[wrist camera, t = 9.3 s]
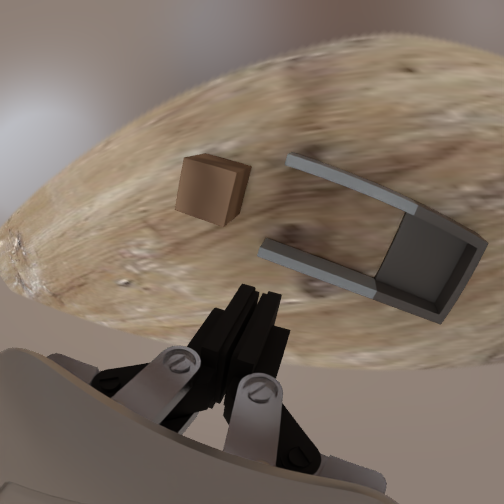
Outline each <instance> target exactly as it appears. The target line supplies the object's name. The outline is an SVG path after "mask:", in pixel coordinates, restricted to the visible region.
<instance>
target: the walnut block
mask: <svg viewBox="0 0 504 504" xmlns="http://www.w3.org/2000/svg"><path fill="white" fill-rule="evenodd" d="M251 168H252V166H248V165H245V164H242V163H238V162H235V161H231V160H228V159H224V158H221V157H217V156H213V155H210V154H206V153H205V154H200V155H195V156H190V157H185V158H184V160H183V165H182V171H181V176H180V182H179V187H178V193H177V199H176V206H175V210H177V211H179V212H182V213H185V214H188V215H191V216H194V217H196V218H199V219H202V220H205V221H208V222H210V223H213V224H216V225H219V226H221V227H224V226H225V225H227V224H228V223H229V222H230V221H231V220H232V219H234V218H235V217H236V216H237V215H238V214H239V213H240V210H241V206H242V202H243V198H244V194H245V190H246V186H247V183H248V179H249V175H250V171H251Z"/></svg>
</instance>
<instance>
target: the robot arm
mask: <svg viewBox="0 0 504 504" xmlns="http://www.w3.org/2000/svg"><path fill="white" fill-rule="evenodd" d="M281 296H282V295H281V294H277V293H274V292H270V291H269V292H268V294H264V293H263V294H262V296H261V298H260V300H259V302H258V297H259V292H257V291H255V287H253V286H249V285H246V284H242V285H241V286H240V288H239V289H238V291H237V292H236V294H235V295H234V297H233V299H232V300H231V302H230V303H229V305H228V306H227V308H226V309H225V310H222V309H219V308H214V309H213V310H212V312H211V313H210V314H209V316H208V317H207V319H206V320H205V322H204V323H203V324H202V326H201V327H200V329H199V330H198V331H197V333H196V334H195V336H194V337H193V338H192V340H191V341H190V343H189V344H188V346H187V347H186V346H172V347H169V348H167V349H165V350H164V351H163V352H161V353H160V354H159V355H158V356H157V357H156V358H155V359H154V360H153V361H152V362H150V363H146V364H140V365H134V366H127V367H121V368H114V369H108V370H104V371H99V369H98V368H97V367H94V366H92V365H89V364H86V363H83V362H80V361H78V360H75V359H72V358H70V357H67V356H65V355H62V354H57V353H56V354H51V355H49V356H47V357H45V356H43V355H41V354H39V353H36V352H33V351H30V350H27V349H22V348H8V349H6V350H4V351H2V352H0V504H398V503H397V502H396V501H395V500H393V499H392V498H390V497H389V496H387V495H385V491H386V485H387V483H386V480H385V478H384V477H383V475H382V474H381V473H379V472H377V471H374V470H371V469H368V468H365V467H362V466H359V465H356V464H353V463H351V462H347V461H345V460H342V459H340V458H337V457H334V456H331V455H330V456H329V457H328V456H325V455H323V454H320V452H319V451H318V449H317V448H316V446H315V445H314V444H313V442H312V441H311V440H310V439H309V438H308V436H307V435H306V434H305V432H304V431H303V430H302V428H301V427H300V426H299V425H298V423H297V422H296V421H295V419H294V418H293V417H292V415H291V414H290V413H289V411H288V410H287V409H286V407H285V406H284V405H283V403H282V399H283V390H282V386H281V384H280V383H279V382H278V381H277V380H276V376H277V373H278V370H279V367H280V364H281V360H282V357H283V354H284V350H285V347H286V344H287V340H288V337H289V333H290V330H288V329H284V328H281V327H277V326H274V324H275V320H276V316H277V312H278V308H279V304H280V300H281ZM257 302H258V304H257ZM224 395H225V399H224V405H225V408H224V414H223V416H224V418H225V419H226V421H227V423H228V424H229V428H228V432H227V436H226V440H225V445H224V449H223V451H221V450H218V449H215V448H212V447H210V446H207V445H205V444H202V443H200V442H197V441H195V440H192V439H190V438H187V437H185V436H183V435H182V434H183V433H184V432H185V431H186V429H187V428H188V427H189V426H190V424H191V423H192V422H193V421H194V419H195V418H196V417H197V415H198V413H199V411H203V410H207V409H208V407H209V408H211V409H212V408H213V406H214V404H215V402H216V403H219V404H220V403H221V401H222V399H223V397H224Z"/></svg>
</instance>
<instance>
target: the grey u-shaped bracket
mask: <svg viewBox="0 0 504 504" xmlns="http://www.w3.org/2000/svg"><path fill="white" fill-rule="evenodd" d="M285 165H286V166H289V167H293V168H296V169H298V170H301V171H304V172H307V173H310V174H313V175H316V176H319V177H321V178H324V179H327V180H330V181H332V182H335V183H338V184H340V185H343V186H345V187H348V188H351V189H353V190H356V191H358V192H361V193H363V194H366V195H368V196H370V197H373V198H375V199H378V200H380V201H382V202H385V203H387V204H389V205H392V206H394V207H396V208H398V209H401V210H403V211H405V212H406V213H405V215H404V217H403V220H402V222H401V224H400V226H399V229H398V231H397V233H396V235H395V238H394V240H393V242H392V244H391V246H390V248H389V250H388V252H387V254H386V257H385V259H384V261H383V263H382V265H381V267H380V269H379V271H378V273H377V274H376V276H375V278H372V277H369V276H367V275H364V274H362V273H359V272H356V271H354V270H351V269H349V268H346V267H343V266H341V265H338V264H335V263H333V262H330V261H327V260H325V259H322V258H319V257H317V256H314V255H311V254H309V253H306V252H303V251H301V250H298V249H295V248H293V247H290V246H287V245H285V244H282V243H279V242H276V241H274V240H271V239H268V238H266V239H265V240H264V242H263V243H262V245H261V246H260V248H259V251H258V255H257V256H258V257H261V258H263V259H266V260H269V261H271V262H274V263H277V264H279V265H282V266H285V267H287V268H290V269H293V270H295V271H298V272H301V273H303V274H306V275H309V276H312V277H314V278H317V279H320V280H322V281H325V282H328V283H330V284H333V285H336V286H338V287H341V288H344V289H346V290H349V291H352V292H354V293H357V294H360V295H363V296H365V297H368V298H371V299H373V300H376V301H379V302H381V303H384V304H387V305H389V306H392V307H395V308H398V309H400V310H403V311H406V312H408V313H411V314H414V315H416V316H419V317H422V318H425V319H427V320H430V321H433V322H435V323H438V324H442V322H443V321H444V319H445V318H446V316H447V315H448V313H449V312H450V310H451V309H452V307H453V306H454V304H455V303H456V301H457V299H458V298H459V296H460V295H461V293H462V291H463V290H464V288H465V286H466V284H467V283H468V281H469V279H470V278H471V276H472V274H473V272H474V270H475V268H476V267H477V265H478V263H479V261H480V259H481V257H482V255H483V253H484V251H485V249H486V247H487V245H488V242H487V241H486V240H484V239H483V238H482V237H481V236H480V235H479V234H477V233H476V232H474V231H472V230H470V229H469V228H467V227H465V226H463V225H462V224H460V223H458V222H456V221H454V220H452V219H450V218H449V217H447V216H445V215H443V214H441V213H439V212H437V211H435V210H433V209H431V208H429V207H427V206H425V205H423V204H421V203H419V202H417V201H415V200H413V199H411V198H408V197H406V196H404V195H402V194H400V193H398V192H395V191H393V190H391V189H389V188H386V187H384V186H382V185H379V184H377V183H375V182H372V181H370V180H367V179H365V178H362V177H360V176H357V175H355V174H352V173H350V172H347V171H345V170H342V169H339V168H337V167H334V166H331V165H328V164H326V163H323V162H320V161H317V160H314V159H311V158H309V157H306V156H303V155H300V154H296V153H293V152H291V153H289V154H288V155H287V159H286V162H285Z"/></svg>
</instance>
